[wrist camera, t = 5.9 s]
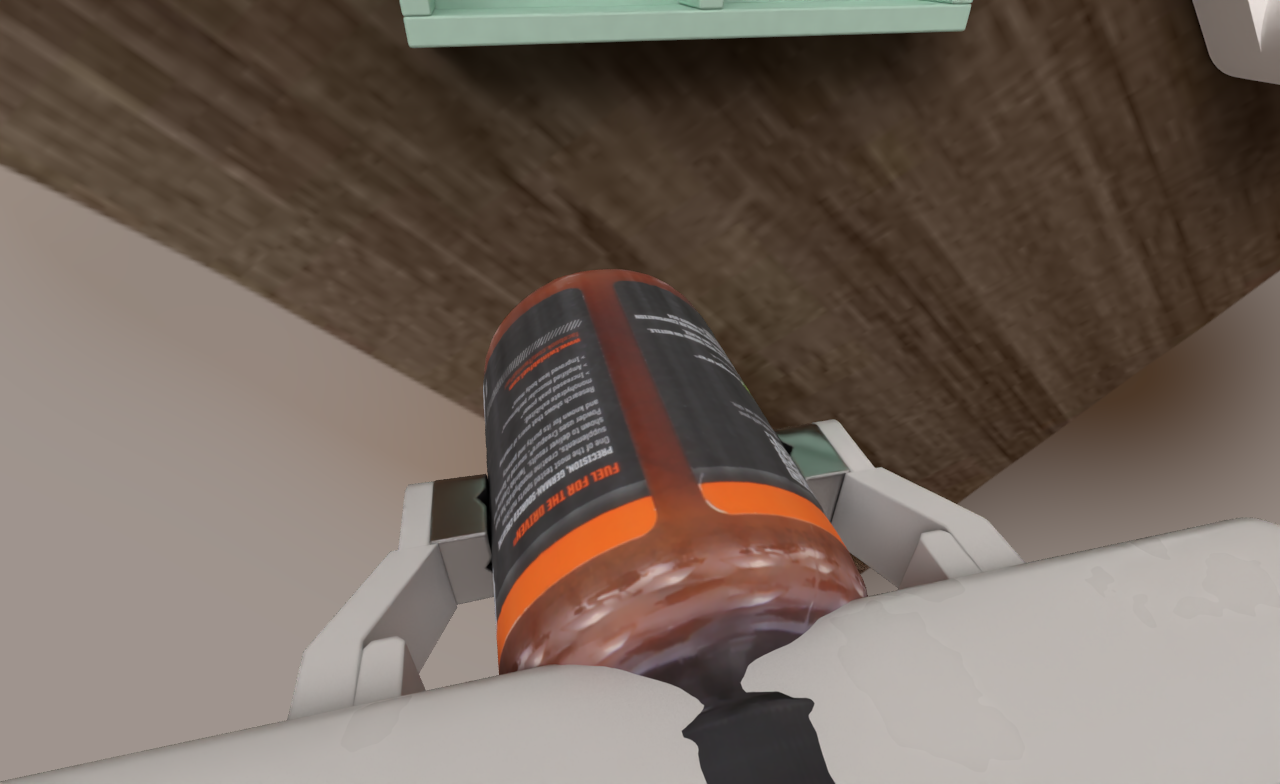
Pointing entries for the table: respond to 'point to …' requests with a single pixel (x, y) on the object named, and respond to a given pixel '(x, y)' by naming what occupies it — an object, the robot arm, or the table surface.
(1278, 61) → the bracket
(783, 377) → the table surface
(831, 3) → the organiser
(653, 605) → the supplement bottle
